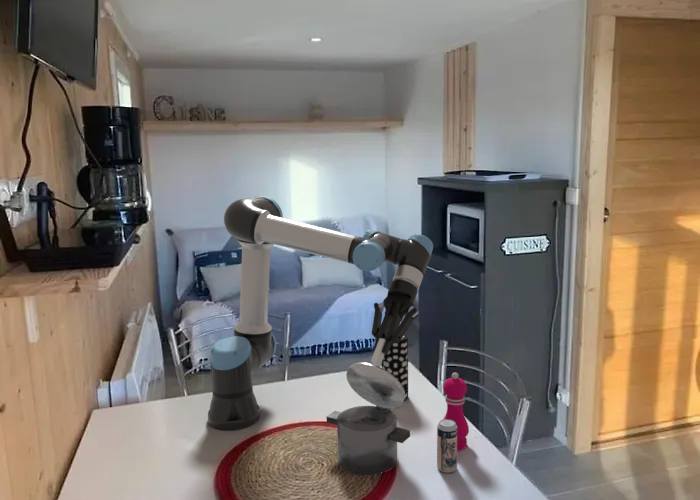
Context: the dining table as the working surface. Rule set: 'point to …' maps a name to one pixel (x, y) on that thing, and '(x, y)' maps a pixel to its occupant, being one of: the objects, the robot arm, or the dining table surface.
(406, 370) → the white-spotted black cylinder
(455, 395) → the pepper mill
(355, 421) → the cooking pot
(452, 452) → the beer can
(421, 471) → the dining table surface
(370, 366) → the pot lid
